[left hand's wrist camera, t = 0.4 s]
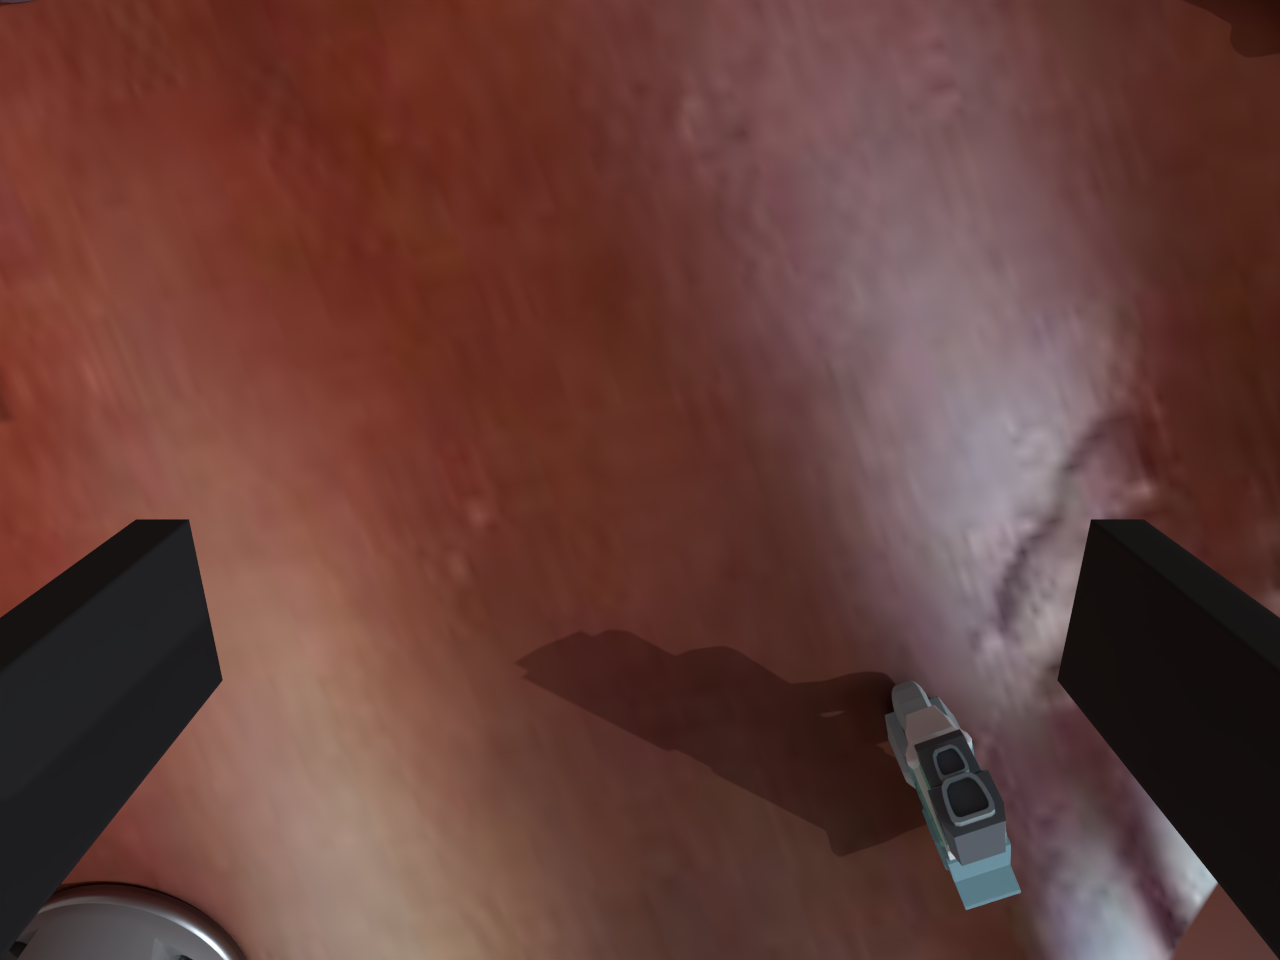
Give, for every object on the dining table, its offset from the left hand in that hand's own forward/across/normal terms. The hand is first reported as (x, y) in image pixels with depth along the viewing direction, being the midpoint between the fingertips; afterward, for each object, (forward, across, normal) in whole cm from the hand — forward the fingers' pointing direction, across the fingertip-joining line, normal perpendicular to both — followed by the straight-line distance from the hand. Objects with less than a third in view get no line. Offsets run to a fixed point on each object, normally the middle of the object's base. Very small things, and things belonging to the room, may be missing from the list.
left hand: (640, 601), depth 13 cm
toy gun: (+28, +16, -24) cm, 40 cm away
